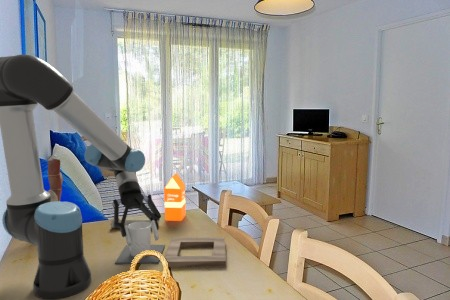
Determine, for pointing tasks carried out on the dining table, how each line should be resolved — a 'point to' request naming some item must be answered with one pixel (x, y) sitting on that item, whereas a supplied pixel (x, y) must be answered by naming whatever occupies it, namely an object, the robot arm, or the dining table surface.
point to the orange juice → (175, 199)
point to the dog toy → (130, 221)
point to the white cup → (139, 237)
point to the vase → (55, 179)
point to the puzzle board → (196, 261)
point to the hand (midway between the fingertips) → (143, 241)
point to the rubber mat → (127, 258)
